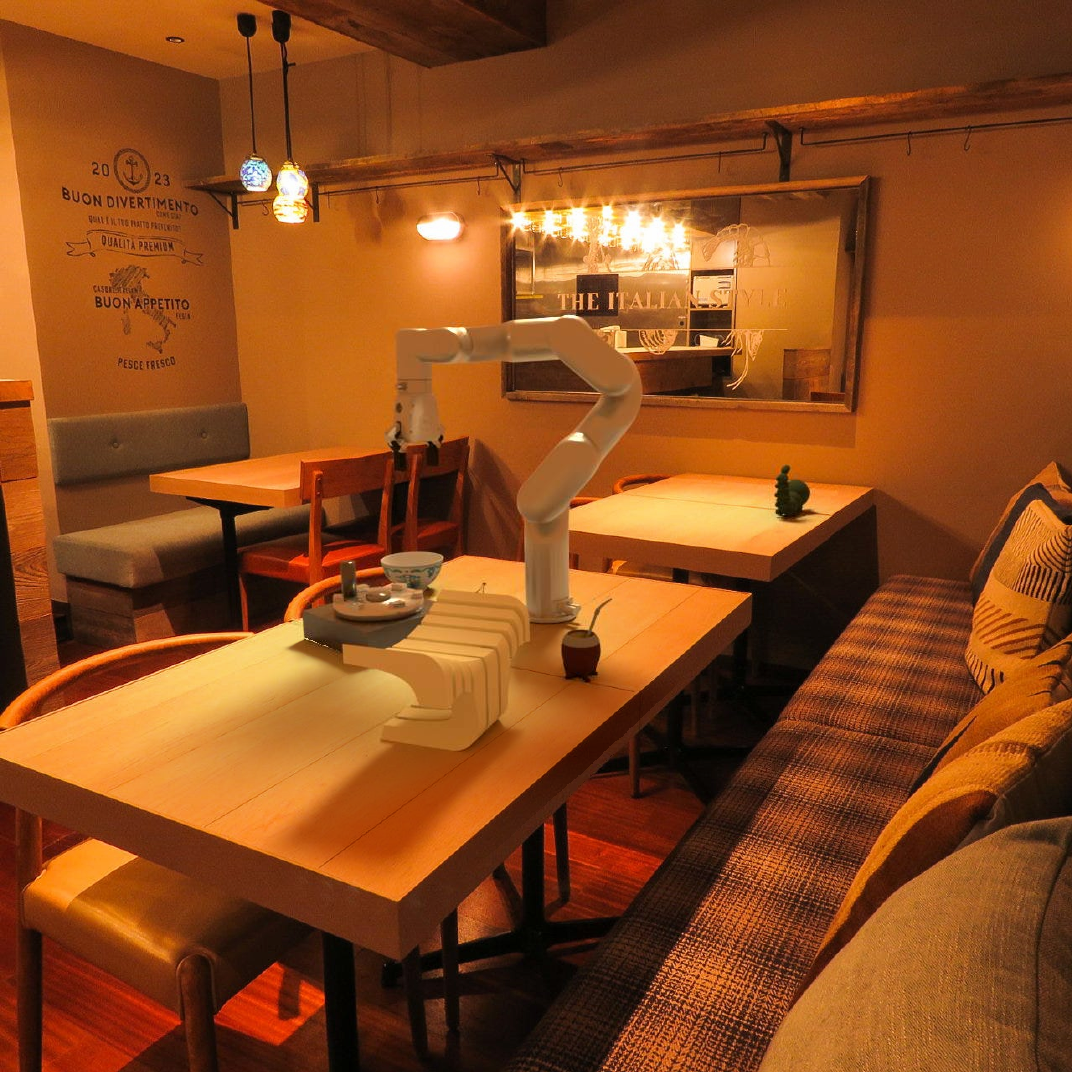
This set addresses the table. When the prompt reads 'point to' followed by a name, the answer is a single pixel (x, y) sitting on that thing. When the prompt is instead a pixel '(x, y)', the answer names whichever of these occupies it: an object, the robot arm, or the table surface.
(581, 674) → the mate gourd
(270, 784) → the table surface
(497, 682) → the slatted curved stool
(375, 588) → the round turntable with post
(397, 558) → the chinaware
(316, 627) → the housing
